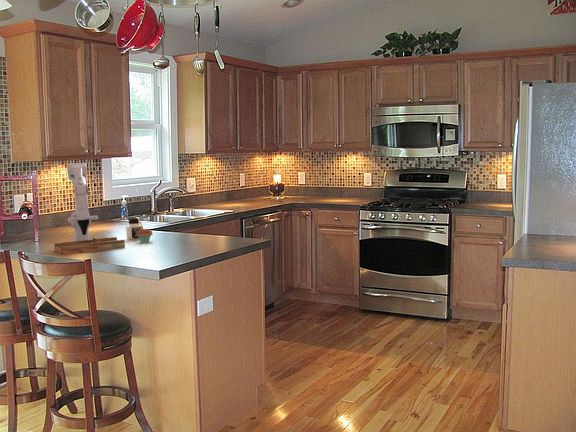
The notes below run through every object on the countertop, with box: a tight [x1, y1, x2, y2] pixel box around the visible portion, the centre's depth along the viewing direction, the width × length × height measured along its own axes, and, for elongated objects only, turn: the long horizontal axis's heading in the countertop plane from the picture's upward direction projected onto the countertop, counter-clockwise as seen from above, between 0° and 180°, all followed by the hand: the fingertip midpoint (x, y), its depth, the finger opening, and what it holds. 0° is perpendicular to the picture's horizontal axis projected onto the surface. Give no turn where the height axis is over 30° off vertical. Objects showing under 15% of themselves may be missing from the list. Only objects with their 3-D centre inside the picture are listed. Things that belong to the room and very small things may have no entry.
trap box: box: [53, 236, 126, 256], centre depth 327 cm, size 14×32×4 cm, turn 122°
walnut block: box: [92, 235, 109, 243], centre depth 329 cm, size 6×6×3 cm
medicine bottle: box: [125, 216, 144, 241], centre depth 360 cm, size 7×7×12 cm
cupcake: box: [136, 221, 153, 243], centre depth 347 cm, size 9×8×12 cm
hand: (84, 234), depth 325 cm, fingers closed
